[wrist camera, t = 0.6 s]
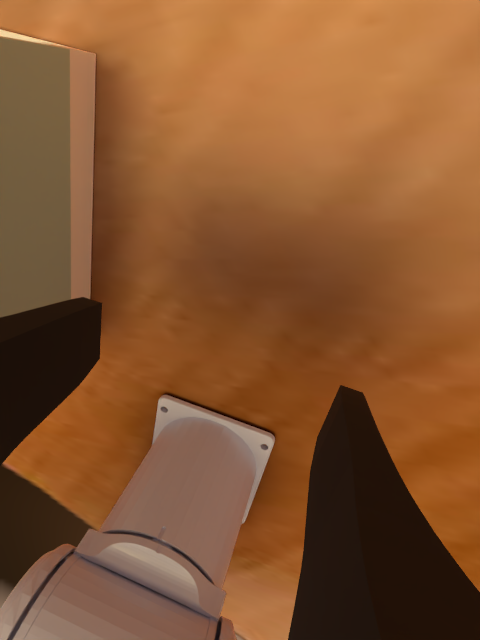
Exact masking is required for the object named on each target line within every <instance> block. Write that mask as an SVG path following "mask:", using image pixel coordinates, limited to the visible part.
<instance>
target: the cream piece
mask: <svg viewBox="0 0 480 640" xmlns="http://www.w3.org/2000/svg"><path fill="white" fill-rule="evenodd" d="M0 36H3V37H8V38H14V39H20V40H25V41H31V42H37V43H42V44H48V45H54V46H58V47H62V48H66V49H70V191H71V299H75V298H80V297H85V298H88V299H90V295H91V252H92V209H93V166H94V123H95V80H96V54H95V53H92V52H88V51H84V50H80V49H76V48H72V47H68V46H64V45H60V44H56V43H53V42H49V41H45V40H41V39H37V38H33V37H29V36H25V35H21V34H18V33H14V32H10V31H6V30H2V29H0Z"/></svg>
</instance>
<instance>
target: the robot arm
mask: <svg viewBox="0 0 480 640" xmlns="http://www.w3.org/2000/svg"><path fill="white" fill-rule="evenodd" d="M101 310H102V303H100V302H97V301H94V300H91V299H88V298H85V297H80V298H75V299H70V300H66V301H62V302H58V303H54V304H50V305H47V306H43V307H39V308H35V309H32V310H28V311H24V312H20V313H16V314H13V315H9V316H4V317H0V466H1V464H2V463H3V462H4V461H5V460H6V458H7V457H8V456H9V455H10V454H11V452H12V451H13V450H14V449H15V448H16V447H17V446H18V445H19V444H20V443H21V442H22V441H23V440H24V439H25V438H26V437H27V436H28V435H29V434H30V433H31V432H32V431H33V430H34V429H35V428H36V427H37V426H38V425H39V424H40V423H41V422H42V421H43V420H44V419H45V418H46V417H47V416H48V415H49V414H50V413H51V412H52V411H53V410H54V409H55V408H56V407H57V406H58V405H59V404H61V403H62V402H63V401H64V400H65V399H66V398H67V397H68V396H69V395H70V394H71V393H72V392H73V391H74V390H75V389H76V388H77V387H78V386H79V385H80V383H81V382H82V381H83V380H84V378H85V377H86V376H87V375H88V373H89V372H90V371H91V369H92V368H93V367H94V365H95V364H96V363H97V361H98V360H99V359H100V336H101ZM164 407H166V408H167V409H166V408H164ZM274 442H275V437H274V436H273V435H272V434H271V433H269V432H266V431H264V430H261V429H258V428H256V427H253V426H250V425H247V424H245V423H242V422H239V421H237V420H234V419H231V418H228V417H226V416H223V415H220V414H218V413H215V412H212V411H209V410H207V409H204V408H201V407H199V406H196V405H193V404H190V403H188V402H185V401H182V400H180V399H177V398H174V397H171V396H169V395H162V396H161V397H160V399H159V401H158V407H157V414H156V421H155V428H154V435H153V442H152V447H151V448H150V450H149V452H148V453H147V455H146V456H145V458H144V459H143V461H142V463H141V464H140V466H139V467H138V469H137V471H136V472H135V474H134V475H133V477H132V478H131V480H130V482H129V483H128V485H127V486H126V488H125V490H124V491H123V493H122V494H121V496H120V498H119V499H118V501H117V502H116V504H115V505H114V507H113V509H112V510H111V512H110V513H109V515H108V517H107V518H106V520H105V521H104V523H103V525H102V526H101V528H100V529H99V531H95V530H93V529H89V530H88V531H87V533H86V534H85V536H84V537H83V539H82V540H81V542H80V543H79V545H78V547H77V548H76V547H74V546H72V545H70V544H63V545H61V546H59V547H58V548H56V549H55V550H53V551H50V552H48V553H46V554H45V555H43V556H42V557H41V558H40V559H39V560H38V561H36V563H34V564H33V566H32V567H31V568H30V569H29V570H28V571H27V572H26V574H25V575H24V576H23V577H22V578H21V580H20V581H19V582H18V584H17V585H16V586H15V588H14V589H13V591H12V592H11V594H10V595H9V596H8V598H7V600H6V601H5V602H4V604H3V605H2V607H1V609H0V640H237V639H236V636H235V633H234V631H233V623H232V621H230V620H229V619H226V618H224V617H222V616H221V617H220V614H221V610H222V607H223V603H224V600H225V596H226V592H225V591H224V590H222V587H223V583H224V580H225V577H226V573H227V570H228V567H229V563H230V560H231V557H232V553H233V550H234V547H235V543H236V540H237V537H238V533H239V530H240V526H241V524H243V523H244V522H245V520H246V517H247V515H248V512H249V509H250V507H251V504H252V501H253V499H254V496H255V493H256V491H257V488H258V485H259V483H260V480H261V477H262V475H263V472H264V469H265V467H266V464H267V461H268V459H269V456H270V453H271V450H272V448H273V445H274ZM263 444H266V445H267V446H265V445H263ZM219 617H220V618H219ZM288 640H480V592H479V591H478V590H477V588H476V587H475V586H474V585H473V583H472V582H471V581H470V580H469V578H468V577H467V576H466V575H465V573H464V572H463V571H462V569H461V568H460V567H459V565H458V564H457V563H456V561H455V560H454V559H453V557H452V556H451V555H450V553H449V552H448V550H447V549H446V548H445V546H444V545H443V544H442V542H441V541H440V539H439V538H438V536H437V535H436V534H435V532H434V531H433V529H432V528H431V526H430V525H429V523H428V521H427V520H426V518H425V517H424V515H423V514H422V512H421V511H420V509H419V508H418V506H417V504H416V503H415V501H414V499H413V498H412V496H411V494H410V493H409V491H408V489H407V487H406V486H405V484H404V482H403V480H402V478H401V476H400V475H399V473H398V471H397V469H396V467H395V465H394V463H393V461H392V459H391V457H390V454H389V452H388V450H387V448H386V446H385V444H384V442H383V439H382V437H381V435H380V433H379V430H378V428H377V426H376V423H375V421H374V418H373V416H372V414H371V411H370V409H369V406H368V403H367V401H366V398H365V396H364V394H363V393H362V392H359V391H356V390H353V389H350V388H348V387H345V386H342V385H340V388H339V390H338V392H337V394H336V397H335V399H334V401H333V403H332V406H331V408H330V410H329V412H328V415H327V417H326V419H325V421H324V424H323V426H322V428H321V430H320V433H319V435H318V437H317V441H316V446H315V451H314V455H313V460H312V465H311V470H310V481H309V492H308V504H307V516H306V528H305V540H304V551H303V559H302V567H301V573H300V579H299V584H298V590H297V595H296V601H295V606H294V612H293V617H292V622H291V627H290V632H289V638H288Z"/></svg>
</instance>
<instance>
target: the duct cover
mask: <svg viewBox="0 0 480 640" xmlns="http://www.w3.org/2000/svg"><path fill="white" fill-rule="evenodd" d="M70 299H71V191H70V49H66V48H62V47H58V46H54V45H48V44H42V43H37V42H31V41H25V40H20V39H14V38H8V37H3V36H0V317H4V316H9V315H13V314H16V313H20V312H24V311H28V310H32V309H35V308H39V307H43V306H47V305H50V304H54V303H58V302H62V301H66V300H70Z"/></svg>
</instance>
